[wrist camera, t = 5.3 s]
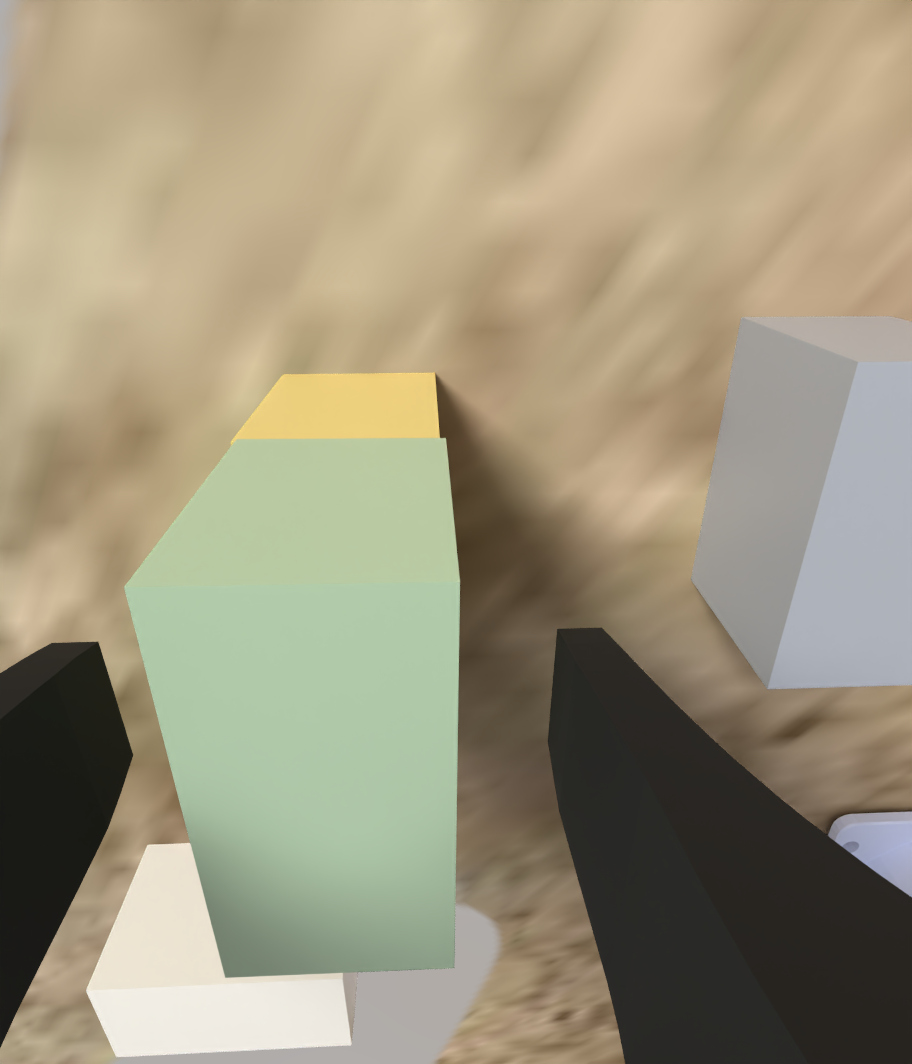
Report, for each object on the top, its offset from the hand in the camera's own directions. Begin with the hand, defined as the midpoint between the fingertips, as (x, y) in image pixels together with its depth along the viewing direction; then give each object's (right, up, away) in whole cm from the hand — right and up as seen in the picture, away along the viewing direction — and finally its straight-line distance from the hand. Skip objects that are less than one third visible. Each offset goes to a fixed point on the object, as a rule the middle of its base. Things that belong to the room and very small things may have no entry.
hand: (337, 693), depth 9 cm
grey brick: (+9, +4, +5) cm, 11 cm away
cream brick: (-4, -8, +11) cm, 14 cm away
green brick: (0, +1, +2) cm, 2 cm away
